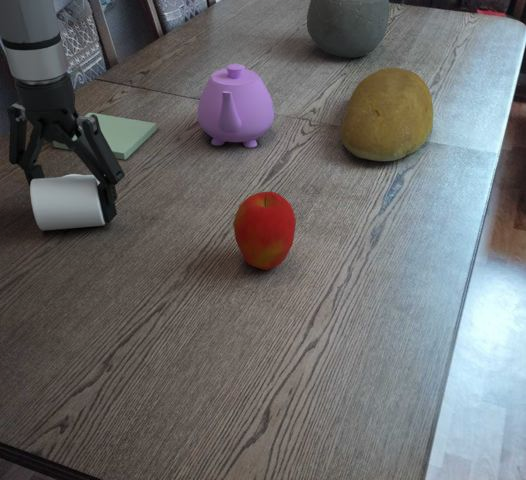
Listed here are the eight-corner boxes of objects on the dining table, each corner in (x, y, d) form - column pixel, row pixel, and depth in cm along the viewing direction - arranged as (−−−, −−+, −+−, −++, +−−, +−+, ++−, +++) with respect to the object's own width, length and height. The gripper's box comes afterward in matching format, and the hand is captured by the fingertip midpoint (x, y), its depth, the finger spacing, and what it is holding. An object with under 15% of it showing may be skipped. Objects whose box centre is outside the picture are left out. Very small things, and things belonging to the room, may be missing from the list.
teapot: (267, 166, 106) (268, 92, 96) (187, 161, 107) (180, 88, 97) (278, 117, 121) (280, 49, 111) (208, 113, 122) (204, 45, 112)
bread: (332, 164, 106) (337, 112, 99) (353, 93, 130) (359, 47, 123) (428, 176, 104) (441, 124, 96) (432, 101, 127) (443, 55, 120)
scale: (51, 147, 110) (47, 133, 108) (89, 118, 120) (86, 104, 117) (124, 160, 107) (121, 146, 105) (157, 129, 116) (155, 115, 114)
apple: (254, 239, 89) (254, 170, 80) (304, 256, 86) (309, 187, 77) (223, 269, 84) (219, 199, 75) (275, 289, 80) (277, 218, 72)
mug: (105, 234, 89) (95, 191, 83) (41, 240, 88) (27, 196, 82) (106, 195, 97) (97, 153, 91) (47, 200, 96) (34, 157, 90)
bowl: (291, 56, 147) (294, -9, 136) (327, 35, 159) (332, -26, 148) (363, 73, 139) (372, 5, 128) (395, 49, 151) (406, -15, 140)
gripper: (132, 76, 76) (153, 213, 91) (-15, 54, 81) (29, 186, 96) (105, 97, 71) (131, 238, 86) (-50, 72, 76) (2, 209, 91)
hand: (77, 211), depth 91 cm, fingers closed on mug, 12 cm apart
